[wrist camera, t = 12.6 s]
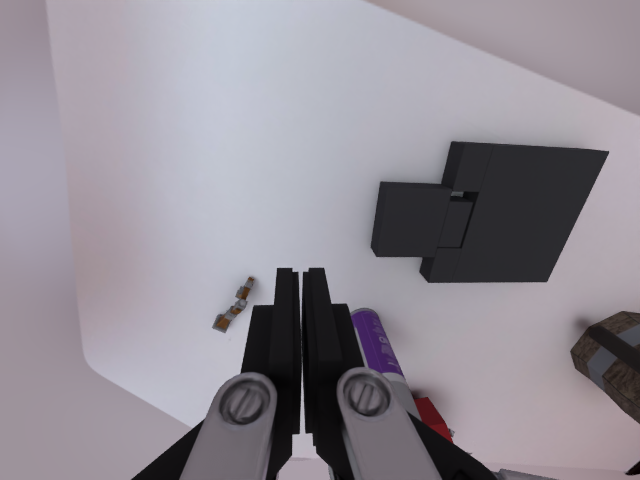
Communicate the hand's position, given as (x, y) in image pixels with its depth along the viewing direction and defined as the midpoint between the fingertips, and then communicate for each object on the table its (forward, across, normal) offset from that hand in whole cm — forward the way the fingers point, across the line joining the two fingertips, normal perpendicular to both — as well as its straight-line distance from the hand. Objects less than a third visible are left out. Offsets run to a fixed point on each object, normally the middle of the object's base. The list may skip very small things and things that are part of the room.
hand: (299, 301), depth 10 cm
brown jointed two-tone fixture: (+20, +7, +16) cm, 27 cm away
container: (+20, -10, +20) cm, 30 cm away
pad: (+20, -14, +4) cm, 25 cm away
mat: (+20, -24, +4) cm, 32 cm away
